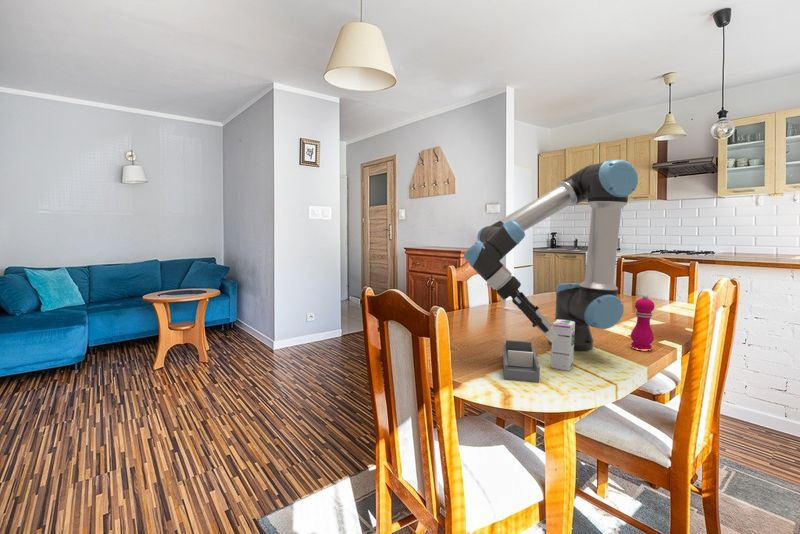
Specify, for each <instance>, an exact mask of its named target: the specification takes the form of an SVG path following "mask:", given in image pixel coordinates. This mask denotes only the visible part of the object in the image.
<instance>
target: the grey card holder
mask: <svg viewBox="0 0 800 534" xmlns="http://www.w3.org/2000/svg"><path fill="white" fill-rule="evenodd" d="M508 350H512V351H524V352H533V367H532V368H531V367H520V366H509V365H508V363H507V357H508ZM502 365H503V368H504V369H503V368H502V369H503V379H504V380H510V381H521V382H522V381H523V382H530V383H531V382H532V383H533V382H534V383H540V378H541V377H540V373H541V372H540V371H541V367H540V363H539V360H538V357H537V353H536V350H535V347H534V346H533V345H532V341H524V340H523V341H522V340H511V339H510V340H509V339H506V340H505V344H503V347H502Z"/></svg>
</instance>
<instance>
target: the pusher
mask: <svg viewBox="0 0 800 534" xmlns="http://www.w3.org/2000/svg"><path fill="white" fill-rule="evenodd" d="M507 363H508V365H509V366H520V367H531V368H532V367H533V352H524V351H512V350H508V357H507Z"/></svg>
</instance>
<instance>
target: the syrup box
mask: <svg viewBox="0 0 800 534" xmlns="http://www.w3.org/2000/svg"><path fill="white" fill-rule="evenodd" d="M551 324H552V326H551V329H552V330H553V331H554V332H555V333H556V334H557V335H558V337H557V338H556V339H555V340H553V341H552V345H551V351H550V352H551V355H550V356H551V357H550V368H552V369H557V370H561V371H565V372H566V371H567V372H570V371H571V370H572V368H573V367H574V355H575V350H574V335H575V322H574V321H570V320H559V319H557V320H556V321H555V320H554V321H553V323H551Z"/></svg>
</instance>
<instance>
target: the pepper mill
mask: <svg viewBox="0 0 800 534" xmlns="http://www.w3.org/2000/svg"><path fill="white" fill-rule="evenodd" d="M655 306H656V305H655V303H654V301H653V300H651V299H649V295H648V294H646V293H644V294H642V298H639V299H637V300H636V301H635V303H634V308H635V310H636V311H635V315H636V323H635V326H634V327H633V329H632V330H631V333H630V339H631V341H632V342H631V346H632V347H634V348H638V349H651V348H653V347H652V343H653V342H654V340H655V336H654V332H653V329H652V327H651V318H652V317H653V316H652V315H653V311H654V309H655ZM651 350H652V349H651Z"/></svg>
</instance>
